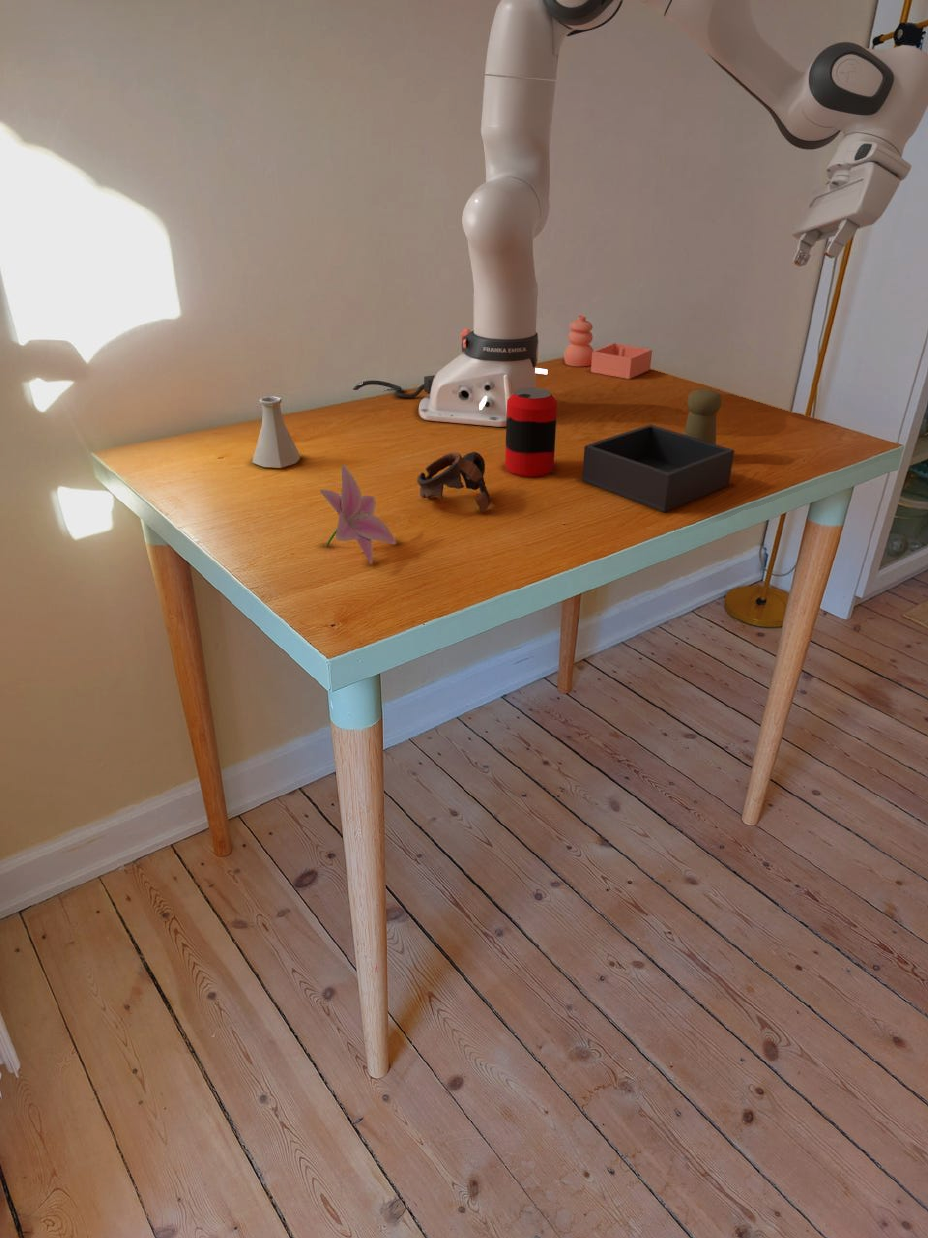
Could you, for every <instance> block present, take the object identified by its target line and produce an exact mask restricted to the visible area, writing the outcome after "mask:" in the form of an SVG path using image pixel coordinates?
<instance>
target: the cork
mask: <svg viewBox="0 0 928 1238" xmlns="http://www.w3.org/2000/svg"><path fill="white" fill-rule="evenodd" d="M722 402H723V399H722V396H721V394H720V393H719V392H718V391H716V390H713V389H707V388H700V389H694V390H693V391H691V392H690V394H689V395H688V397H687V402H686V404H687V405H686V406H687V408H688V410H689V412H688V416H687V420H686V423H685V427H684V431H683V433H682V434H683V435H687V436H690V437H693V438H696V439H700V440H703V441H706V442H709V443H713V444H716V445H717V413H718V412H719V411H720V409H721V406H722Z"/></svg>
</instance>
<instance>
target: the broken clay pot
mask: <svg viewBox="0 0 928 1238" xmlns="http://www.w3.org/2000/svg"><path fill="white" fill-rule="evenodd" d="M446 468H447V469H446ZM425 471H426V472H427V475H426V474H425V473H424V472H423V471H422V472H421V473H419V475H418V476H417V479H416V482H417V484H418V485H419V486H420V489H419V495H420V497H421V498H422V499H426V498H427V499H431V498H433V497H435V498H437V499H440V500H443V499H444V497H443V492H444V486H446V487H447V488H450V489H452V488H453V489H457V490H460V489H461V490H462V489H463V488H466V489H467V490H468V489H469V490H473V491H478V489H479V492H480V494H479V496H478V497H477V498H476V499H475V503H476V504H477V506H478V509H479V512H480V513H481V514H482V513H484V512H485V511H487V509H488V508H489V507H490V505H491V503H492V501H491V497H490V494H489V490H488V489H487V486H486V481H485V478H484V475H485V471H486V463H485V459H484V457H483V456H482V455H481V454H480V453H479V452H477V451H471V452H467V453H466V454H465V455H463V456H462V454H461V453H460V452H449V453H446V454H444V455H442V456H441V457H438V458H437V459H436V460H434V461H432V462H431V463H429V464H428V465H427V466H426V467H425ZM441 471H442V472H441ZM439 472H441V473H439ZM438 473H439V474H438ZM462 478H463V481H464V483H463V482H462Z"/></svg>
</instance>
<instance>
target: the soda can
mask: <svg viewBox="0 0 928 1238" xmlns="http://www.w3.org/2000/svg"><path fill="white" fill-rule="evenodd" d="M557 414H558V401H557V400H556V397H554V395H553V394H552V392H551V391H550V390H548V389H545V388H540V387H537V388H521V389H517V390H515V391H514V393H513V394H512V395H511V396H510V398H509V399H508V400H507V417H506V426H505V454H504V467H505V469H506V471H507V472H509V473H510V474H512V475H515V476H518V477H524V478H536V477H543V476H546V475H548V474H550V473H551V472H552V471H553V469H554V464H555V463H554V462H555V448H556V434H557V433H556V430H557V418H558V417H557V416H558V415H557Z"/></svg>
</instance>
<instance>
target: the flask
mask: <svg viewBox="0 0 928 1238" xmlns="http://www.w3.org/2000/svg"><path fill="white" fill-rule="evenodd" d="M282 401H283V398H282V397H279V396H272V395H271V396H264V397H261V398H260V399H259V405H261V409H262V418H261V426H260V431H259V436H258V440H257V443H256V447H255V450H254V454H253V457H252V463H253V464H255V465H258V466H260V467H261V468H262V467H263V468H276V469H282V468H285V467H288V466H291V465H295V464H296V463H297V462H298V461H299V460H300V458H301V454H300V452H299V450H298V448H297V446H296V444H295V443H294V440H293V438H292V435H291V434H290V432H289V429H288V427H287V425H286V423H285V420H284V417H283V413H282V407H281V403H282Z"/></svg>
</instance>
